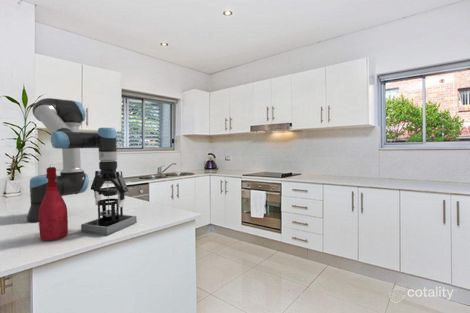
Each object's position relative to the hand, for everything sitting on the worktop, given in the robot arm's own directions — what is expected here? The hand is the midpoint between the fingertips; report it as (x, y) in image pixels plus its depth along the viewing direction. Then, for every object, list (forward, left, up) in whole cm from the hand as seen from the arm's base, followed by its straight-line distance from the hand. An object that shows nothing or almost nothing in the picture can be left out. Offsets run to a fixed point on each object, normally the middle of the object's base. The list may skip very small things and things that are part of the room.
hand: (109, 205), depth 116 cm
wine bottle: (-13, -17, -11) cm, 24 cm away
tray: (0, 0, -10) cm, 10 cm away
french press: (0, 0, -10) cm, 10 cm away
